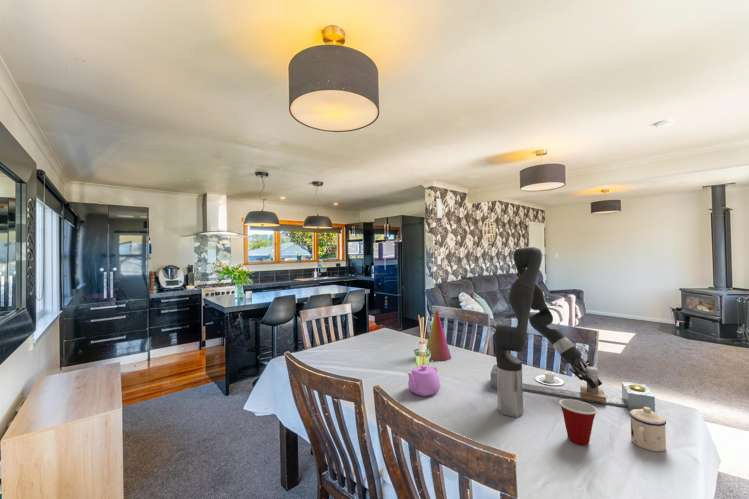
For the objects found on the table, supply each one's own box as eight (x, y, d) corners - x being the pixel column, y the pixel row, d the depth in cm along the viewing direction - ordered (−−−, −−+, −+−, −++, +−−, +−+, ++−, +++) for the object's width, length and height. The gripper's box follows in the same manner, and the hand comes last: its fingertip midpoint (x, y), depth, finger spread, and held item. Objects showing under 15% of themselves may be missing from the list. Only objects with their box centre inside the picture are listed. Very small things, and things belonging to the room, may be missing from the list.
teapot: (425, 381, 159) (425, 357, 159) (448, 390, 149) (447, 364, 149) (396, 394, 146) (396, 368, 146) (419, 404, 136) (418, 376, 136)
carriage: (606, 402, 131) (605, 373, 131) (582, 398, 135) (581, 370, 135) (602, 393, 139) (601, 366, 139) (580, 390, 143) (579, 363, 143)
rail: (655, 415, 123) (654, 395, 123) (490, 388, 150) (490, 371, 150) (646, 401, 134) (645, 383, 134) (494, 378, 161) (494, 363, 161)
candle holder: (531, 382, 157) (531, 373, 157) (540, 374, 166) (539, 366, 166) (559, 389, 149) (559, 379, 149) (566, 381, 157) (566, 372, 157)
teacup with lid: (635, 433, 112) (634, 398, 112) (670, 445, 104) (669, 409, 105) (622, 445, 105) (621, 409, 105) (659, 460, 97) (658, 421, 98)
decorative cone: (418, 357, 196) (417, 307, 197) (435, 351, 207) (433, 303, 207) (440, 363, 184) (439, 310, 185) (456, 356, 195) (455, 306, 195)
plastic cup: (605, 443, 106) (604, 406, 106) (587, 454, 101) (586, 415, 101) (571, 428, 116) (570, 394, 116) (553, 437, 110) (552, 402, 110)
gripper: (564, 348, 140) (596, 386, 130) (581, 342, 147) (612, 378, 137) (552, 357, 144) (582, 394, 134) (569, 351, 152) (598, 386, 142)
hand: (597, 386), depth 136 cm, fingers closed on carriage, 4 cm apart
